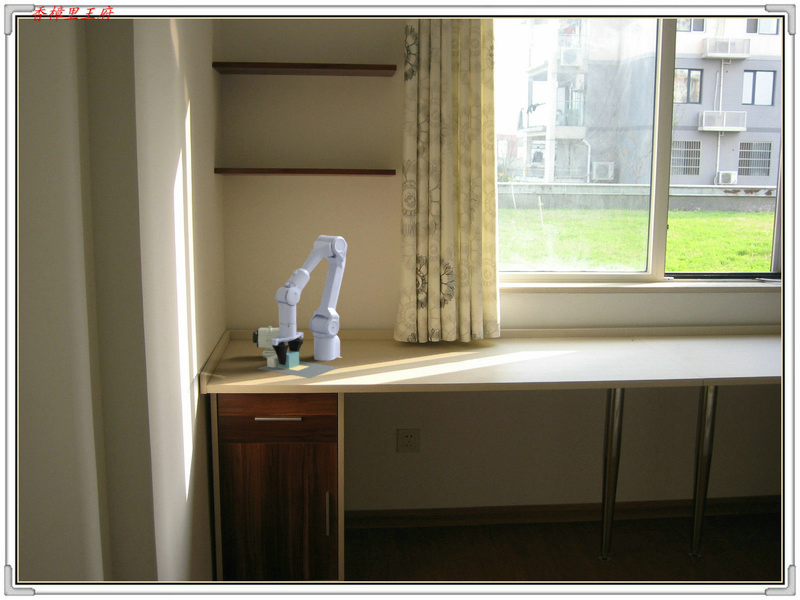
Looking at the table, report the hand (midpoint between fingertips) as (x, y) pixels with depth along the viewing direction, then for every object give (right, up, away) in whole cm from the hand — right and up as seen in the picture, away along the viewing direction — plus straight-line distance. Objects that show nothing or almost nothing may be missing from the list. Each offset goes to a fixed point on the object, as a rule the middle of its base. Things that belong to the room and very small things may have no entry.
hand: (288, 362), depth 233 cm
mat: (+4, -2, -2) cm, 5 cm away
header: (-2, -1, +1) cm, 3 cm away
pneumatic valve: (-8, 0, +13) cm, 15 cm away
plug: (0, -1, 0) cm, 1 cm away
